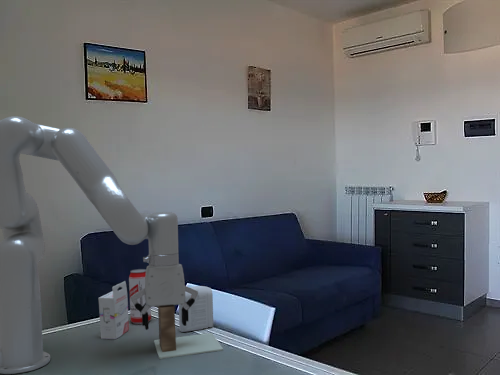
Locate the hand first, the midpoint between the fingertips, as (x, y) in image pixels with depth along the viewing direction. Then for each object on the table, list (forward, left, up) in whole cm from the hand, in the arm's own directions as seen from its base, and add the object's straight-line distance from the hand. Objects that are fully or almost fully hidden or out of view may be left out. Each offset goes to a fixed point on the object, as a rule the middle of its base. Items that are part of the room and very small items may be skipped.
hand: (165, 326), depth 128 cm
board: (+5, 0, -6) cm, 8 cm away
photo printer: (+10, +14, -6) cm, 18 cm away
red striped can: (-5, +28, -6) cm, 29 cm away
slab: (0, 0, -5) cm, 5 cm away
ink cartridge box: (-13, +18, -6) cm, 23 cm away
